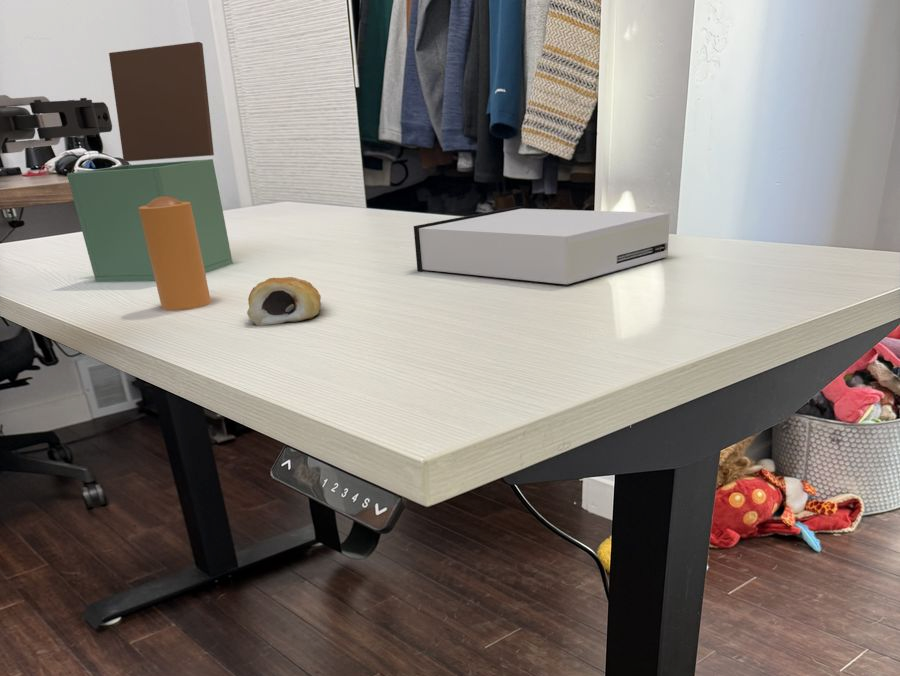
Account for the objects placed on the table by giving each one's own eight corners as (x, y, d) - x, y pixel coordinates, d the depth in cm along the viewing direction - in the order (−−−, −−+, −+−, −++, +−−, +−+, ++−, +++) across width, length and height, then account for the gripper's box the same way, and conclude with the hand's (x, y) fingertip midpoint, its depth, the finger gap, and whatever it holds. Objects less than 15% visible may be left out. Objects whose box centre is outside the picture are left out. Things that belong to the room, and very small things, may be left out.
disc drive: (519, 248, 110) (518, 205, 108) (668, 258, 95) (671, 209, 93) (416, 272, 100) (412, 226, 98) (565, 288, 85) (565, 234, 83)
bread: (152, 311, 91) (125, 200, 86) (180, 301, 96) (156, 194, 90) (193, 311, 90) (168, 198, 84) (220, 300, 94) (198, 192, 88)
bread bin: (183, 281, 107) (158, 167, 101) (95, 283, 112) (66, 173, 105) (233, 264, 117) (213, 159, 110) (150, 266, 121) (126, 165, 115)
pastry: (263, 307, 88) (256, 268, 87) (328, 303, 88) (323, 263, 86) (247, 328, 80) (240, 286, 78) (319, 323, 80) (313, 280, 78)
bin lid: (198, 41, 105) (202, 43, 106) (108, 52, 110) (112, 54, 110) (210, 154, 110) (214, 155, 110) (123, 161, 114) (127, 161, 115)
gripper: (-32, 59, 57) (122, 62, 71) (-182, 79, 62) (-11, 78, 75) (5, 183, 61) (145, 164, 74) (-139, 193, 66) (17, 173, 79)
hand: (66, 121), depth 75 cm, fingers open, 8 cm apart
